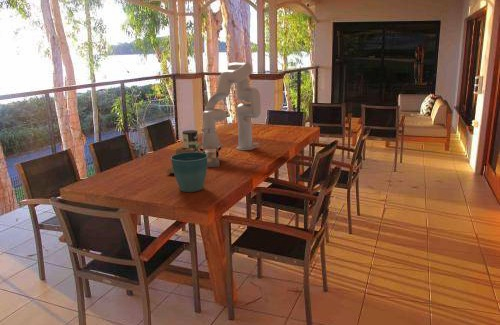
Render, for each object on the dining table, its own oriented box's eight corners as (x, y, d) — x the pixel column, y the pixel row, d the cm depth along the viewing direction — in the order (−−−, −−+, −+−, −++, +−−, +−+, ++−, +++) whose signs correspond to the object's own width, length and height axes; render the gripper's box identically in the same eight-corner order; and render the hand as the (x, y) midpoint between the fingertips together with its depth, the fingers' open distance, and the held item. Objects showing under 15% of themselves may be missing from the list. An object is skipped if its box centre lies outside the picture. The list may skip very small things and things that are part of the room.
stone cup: (199, 171, 253) (197, 145, 250) (191, 176, 242) (189, 150, 239) (174, 169, 257) (173, 144, 254) (165, 175, 246) (164, 149, 243)
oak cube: (215, 159, 269) (214, 149, 268) (216, 161, 264) (215, 151, 262) (205, 159, 268) (205, 150, 267) (206, 162, 263) (205, 152, 261)
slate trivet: (218, 162, 272) (218, 158, 272) (219, 166, 263) (219, 162, 262) (202, 163, 271) (202, 159, 270) (203, 167, 261) (202, 163, 261)
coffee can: (200, 150, 307) (199, 130, 304) (195, 153, 298) (194, 132, 294) (186, 149, 309) (185, 129, 306) (181, 153, 300) (180, 132, 296)
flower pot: (189, 197, 208) (187, 162, 204) (165, 190, 220) (163, 157, 216) (216, 188, 221) (215, 155, 217) (192, 181, 233) (191, 150, 229)
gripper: (195, 132, 271) (197, 160, 275) (224, 130, 273) (225, 158, 278) (195, 130, 278) (196, 157, 282) (222, 128, 280) (223, 155, 285)
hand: (210, 157), depth 280 cm, fingers open, 7 cm apart
